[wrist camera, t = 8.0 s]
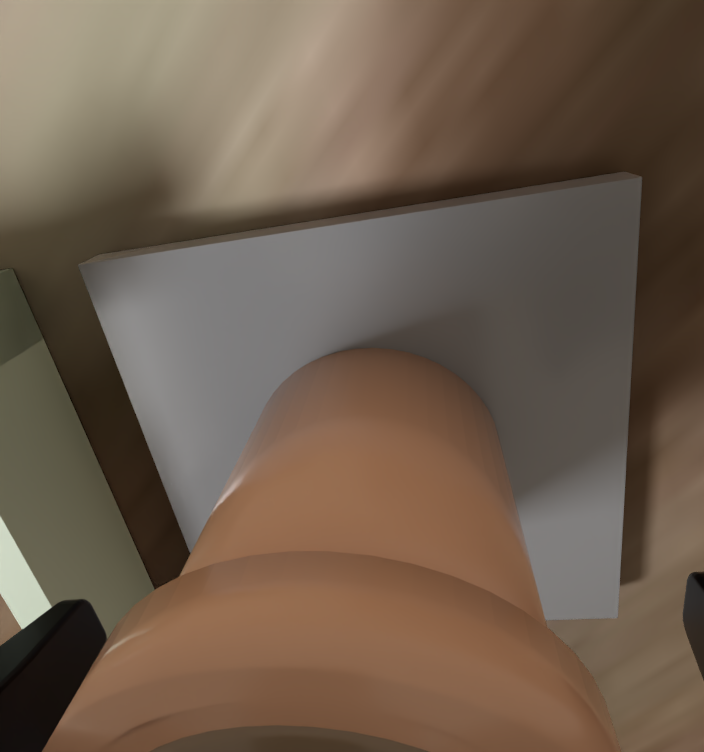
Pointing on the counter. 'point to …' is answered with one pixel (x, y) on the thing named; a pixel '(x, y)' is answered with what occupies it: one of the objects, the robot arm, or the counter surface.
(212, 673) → the terracotta pot
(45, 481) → the cold frame
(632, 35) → the counter surface
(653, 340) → the counter surface
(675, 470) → the counter surface
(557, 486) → the slate tile
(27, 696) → the robot arm
